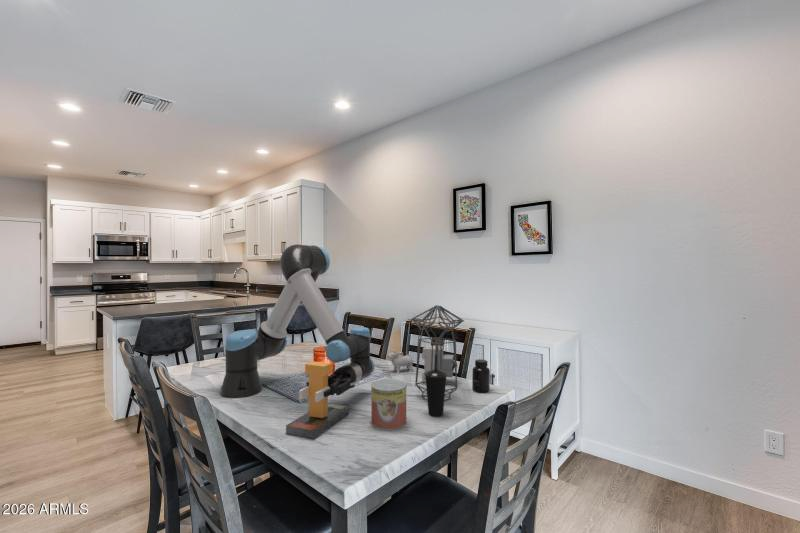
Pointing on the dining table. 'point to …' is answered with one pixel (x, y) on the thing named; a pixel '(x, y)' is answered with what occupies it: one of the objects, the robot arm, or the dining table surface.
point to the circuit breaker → (447, 361)
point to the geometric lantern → (440, 309)
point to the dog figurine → (400, 360)
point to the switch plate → (317, 422)
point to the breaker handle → (317, 387)
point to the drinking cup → (435, 390)
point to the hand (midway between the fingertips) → (308, 396)
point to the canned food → (388, 404)
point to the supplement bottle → (481, 377)
